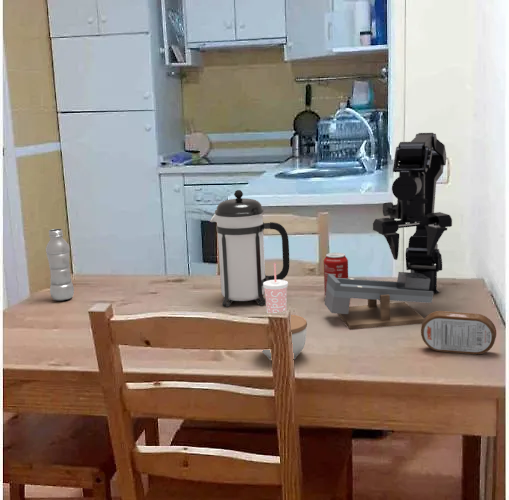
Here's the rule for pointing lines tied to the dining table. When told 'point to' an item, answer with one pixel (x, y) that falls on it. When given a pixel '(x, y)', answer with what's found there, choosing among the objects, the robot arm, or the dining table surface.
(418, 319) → the stand
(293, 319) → the lidded jar
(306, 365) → the dining table surface
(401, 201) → the robot arm
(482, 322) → the tin
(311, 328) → the dining table surface
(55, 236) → the plastic bottle
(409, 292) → the beam
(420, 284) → the block
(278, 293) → the beverage cup
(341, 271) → the beverage can
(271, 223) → the coffee press
